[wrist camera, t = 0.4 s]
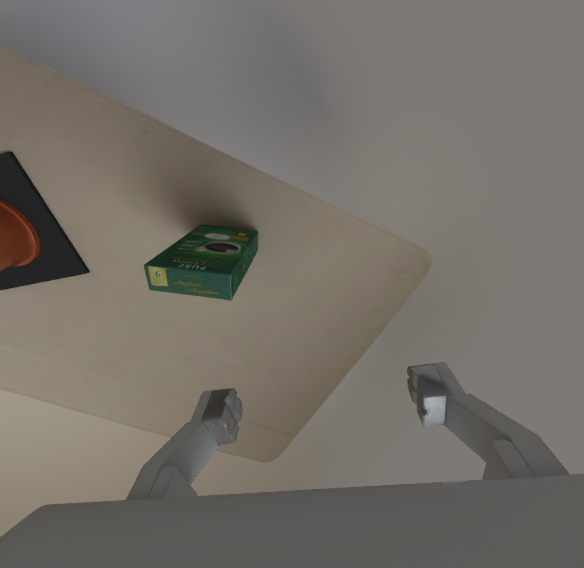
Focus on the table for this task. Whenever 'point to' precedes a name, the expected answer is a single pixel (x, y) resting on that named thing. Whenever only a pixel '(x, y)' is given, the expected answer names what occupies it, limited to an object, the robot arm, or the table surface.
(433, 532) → the robot arm
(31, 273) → the mat
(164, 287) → the coffee box
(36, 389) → the table surface
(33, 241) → the stand
